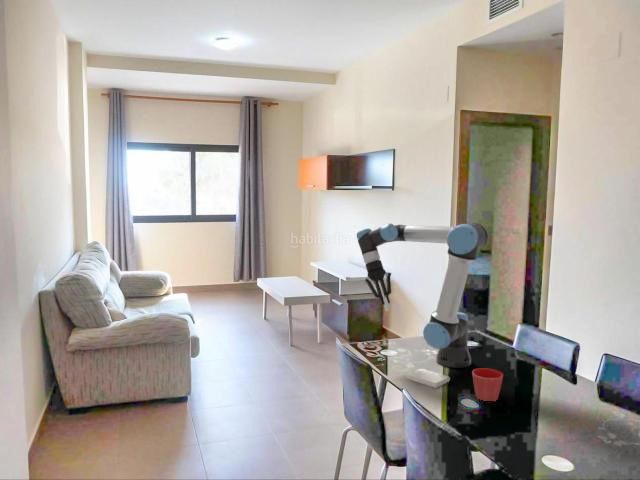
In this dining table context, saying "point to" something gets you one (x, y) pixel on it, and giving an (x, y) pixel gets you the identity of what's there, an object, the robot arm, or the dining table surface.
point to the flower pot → (487, 383)
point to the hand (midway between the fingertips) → (388, 311)
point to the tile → (428, 378)
